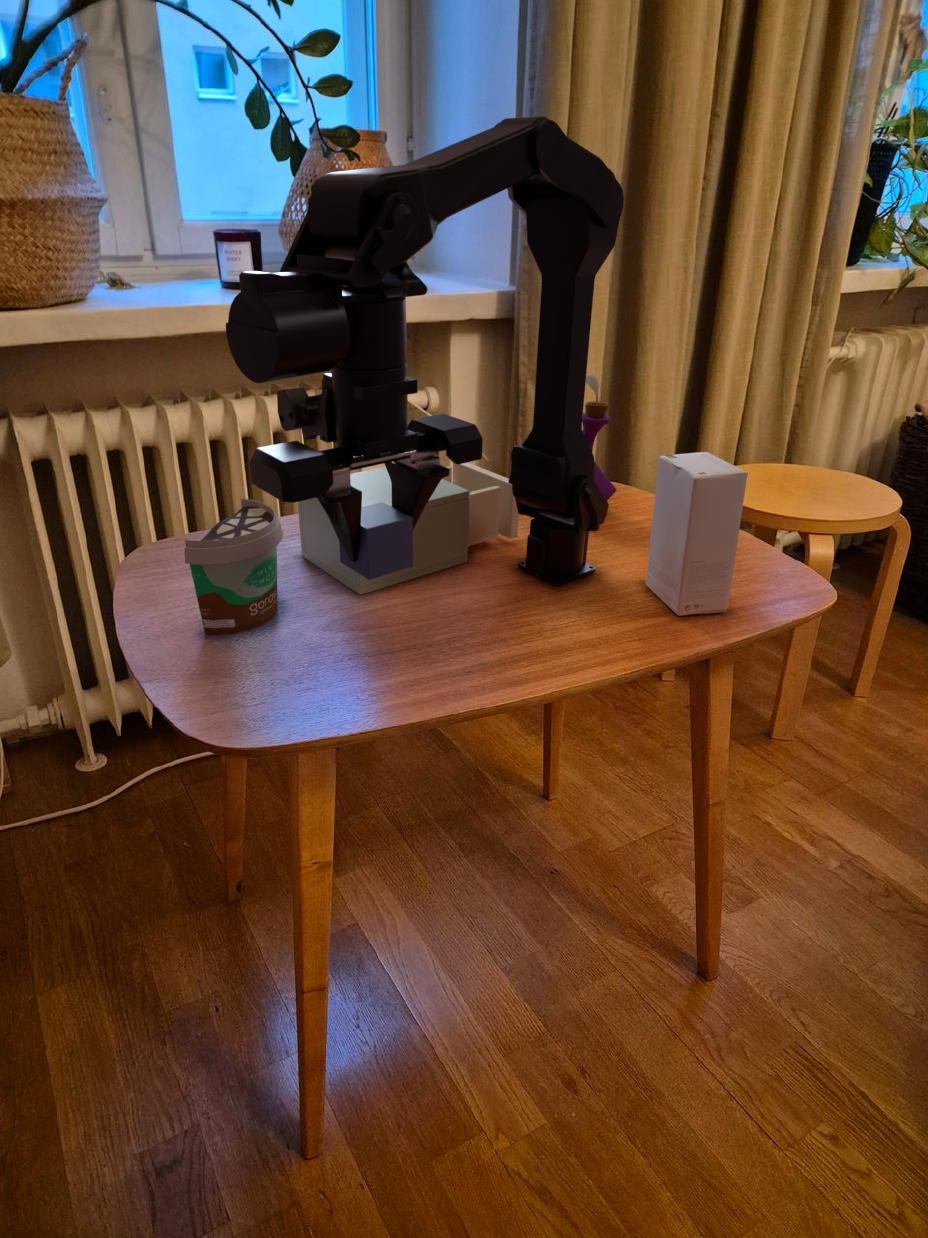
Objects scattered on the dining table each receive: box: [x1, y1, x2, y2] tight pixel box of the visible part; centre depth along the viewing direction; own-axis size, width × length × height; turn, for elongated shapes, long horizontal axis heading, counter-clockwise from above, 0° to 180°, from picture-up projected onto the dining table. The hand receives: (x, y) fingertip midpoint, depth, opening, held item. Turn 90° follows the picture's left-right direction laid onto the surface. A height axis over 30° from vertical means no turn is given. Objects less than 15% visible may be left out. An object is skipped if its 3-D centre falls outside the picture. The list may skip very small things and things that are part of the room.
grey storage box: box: [297, 466, 469, 596], centre depth 90 cm, size 15×13×9 cm
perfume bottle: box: [582, 373, 617, 502], centre depth 103 cm, size 8×8×18 cm
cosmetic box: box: [645, 451, 749, 617], centre depth 81 cm, size 8×6×15 cm
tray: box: [442, 462, 520, 547], centre depth 96 cm, size 18×11×7 cm, turn 129°
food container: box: [184, 497, 284, 636], centre depth 77 cm, size 12×6×10 cm, turn 168°
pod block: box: [339, 502, 413, 580], centre depth 67 cm, size 4×4×4 cm
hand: (376, 553), depth 67 cm, fingers closed on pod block, 4 cm apart
